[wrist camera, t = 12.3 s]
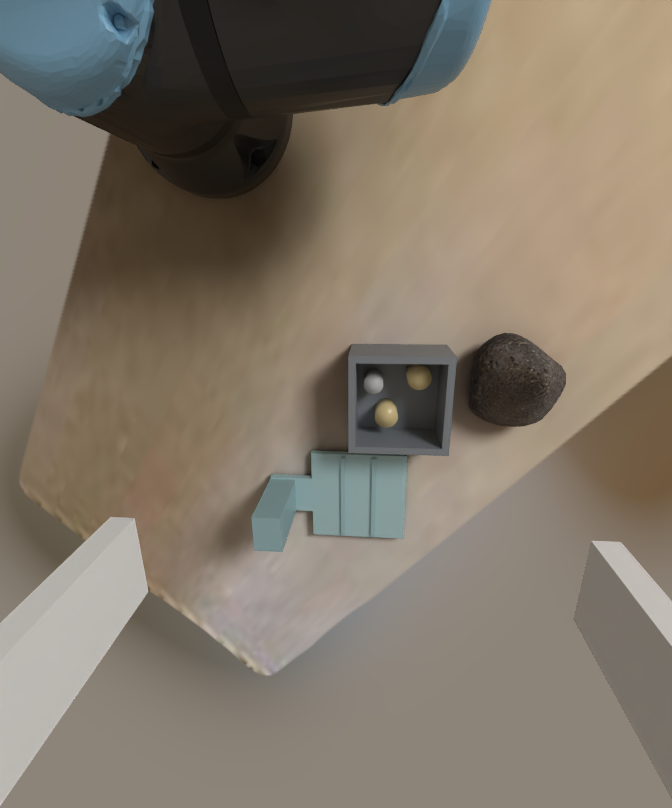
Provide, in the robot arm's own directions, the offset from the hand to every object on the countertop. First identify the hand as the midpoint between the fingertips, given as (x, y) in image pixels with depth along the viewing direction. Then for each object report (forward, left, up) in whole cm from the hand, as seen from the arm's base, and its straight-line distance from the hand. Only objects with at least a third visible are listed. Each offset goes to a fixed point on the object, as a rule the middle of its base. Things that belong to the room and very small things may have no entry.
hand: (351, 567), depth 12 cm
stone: (+3, +14, -35) cm, 38 cm away
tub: (+5, +3, -35) cm, 35 cm away
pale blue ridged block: (+18, -4, -34) cm, 39 cm away
